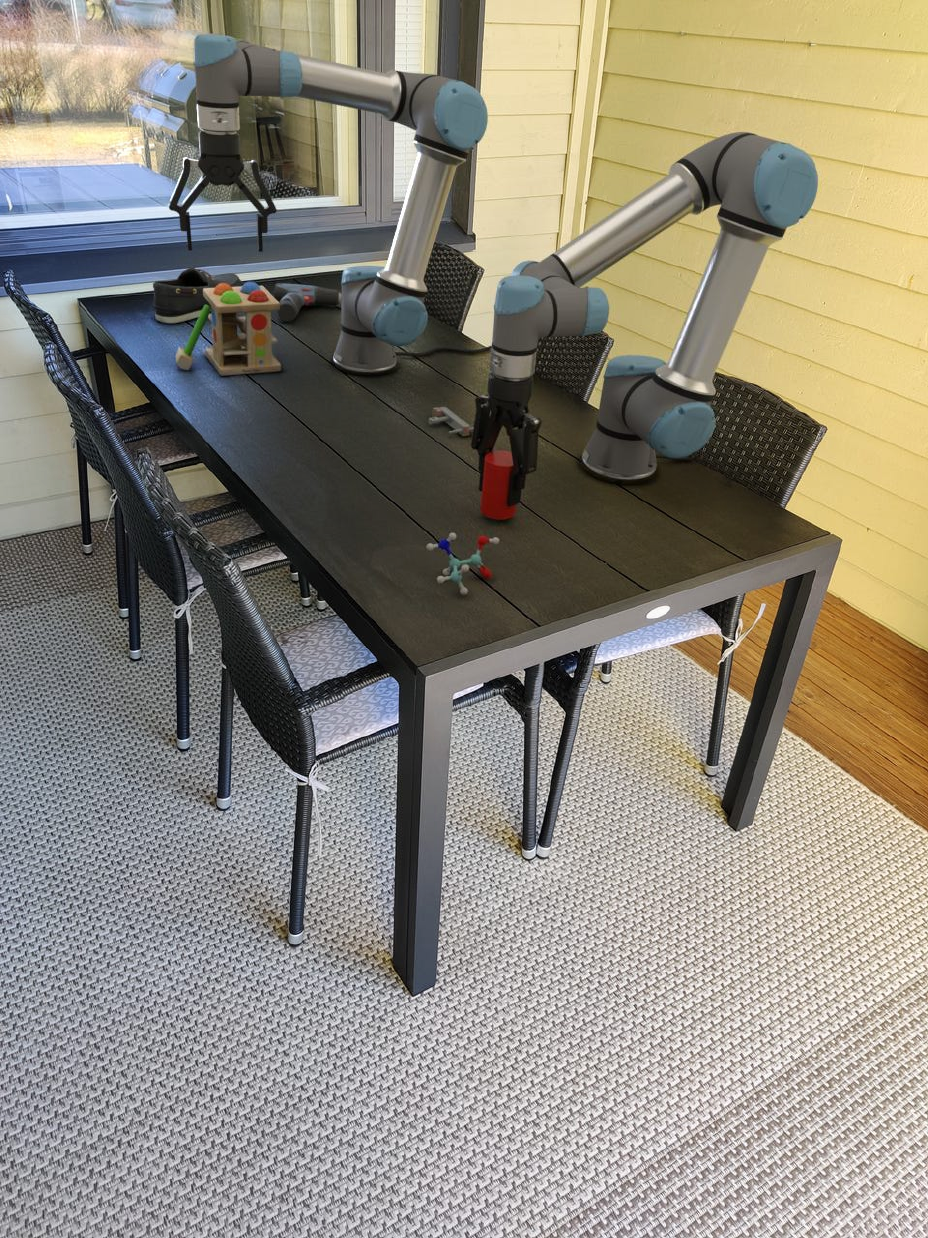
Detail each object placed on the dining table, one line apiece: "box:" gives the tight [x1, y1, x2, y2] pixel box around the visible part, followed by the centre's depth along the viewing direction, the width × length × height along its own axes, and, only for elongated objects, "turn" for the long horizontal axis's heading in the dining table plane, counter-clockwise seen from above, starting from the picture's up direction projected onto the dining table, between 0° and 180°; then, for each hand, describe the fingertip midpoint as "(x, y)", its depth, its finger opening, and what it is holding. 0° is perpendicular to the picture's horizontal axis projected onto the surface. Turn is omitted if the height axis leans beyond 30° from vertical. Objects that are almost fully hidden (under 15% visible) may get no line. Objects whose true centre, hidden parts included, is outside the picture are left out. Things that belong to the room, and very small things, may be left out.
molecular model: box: [426, 532, 500, 596], centre depth 158 cm, size 12×10×10 cm
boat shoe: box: [152, 267, 243, 324], centre depth 261 cm, size 13×33×10 cm, turn 147°
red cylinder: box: [480, 450, 517, 520], centre depth 176 cm, size 6×6×10 cm
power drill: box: [274, 282, 342, 322], centre depth 265 cm, size 5×19×20 cm
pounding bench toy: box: [174, 281, 282, 377], centre depth 225 cm, size 23×14×18 cm, turn 116°
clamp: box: [428, 406, 474, 437], centre depth 210 cm, size 15×2×10 cm
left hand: (225, 249), depth 194 cm, fingers open, 13 cm apart
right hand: (499, 496), depth 177 cm, fingers closed on red cylinder, 6 cm apart
